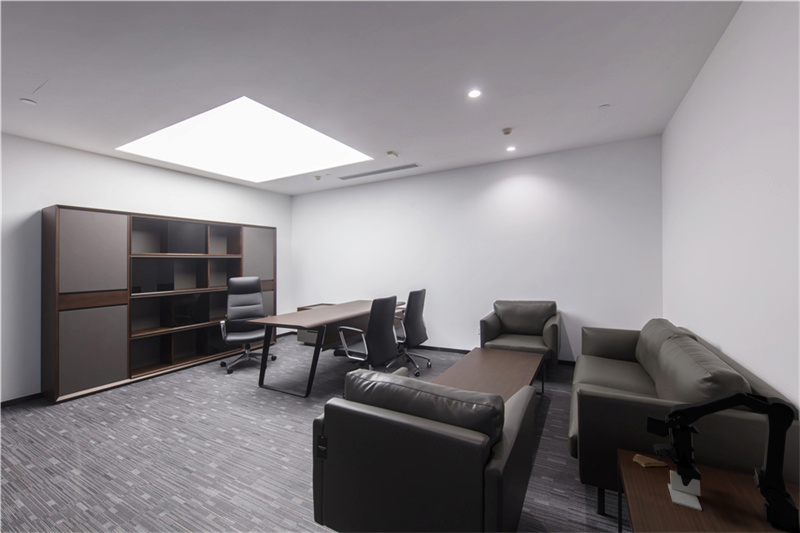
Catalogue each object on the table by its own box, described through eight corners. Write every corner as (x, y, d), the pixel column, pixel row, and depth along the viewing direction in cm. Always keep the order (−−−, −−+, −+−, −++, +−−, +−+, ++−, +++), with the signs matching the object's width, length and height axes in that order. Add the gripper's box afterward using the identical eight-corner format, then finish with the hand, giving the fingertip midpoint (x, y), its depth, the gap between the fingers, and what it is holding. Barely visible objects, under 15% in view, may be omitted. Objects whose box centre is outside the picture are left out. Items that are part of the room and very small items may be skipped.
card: (699, 493, 115) (698, 476, 115) (700, 496, 114) (699, 479, 114) (670, 486, 119) (669, 469, 119) (671, 488, 118) (670, 472, 118)
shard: (668, 467, 133) (667, 462, 133) (665, 475, 128) (664, 470, 128) (636, 456, 141) (636, 452, 141) (632, 464, 135) (632, 459, 136)
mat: (694, 491, 117) (693, 490, 117) (701, 510, 108) (701, 509, 108) (667, 485, 121) (667, 483, 121) (673, 502, 112) (673, 501, 112)
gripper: (651, 425, 129) (653, 464, 129) (658, 447, 113) (660, 491, 113) (687, 432, 123) (689, 473, 123) (700, 456, 107) (702, 503, 107)
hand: (684, 484), depth 116 cm, fingers closed on card, 2 cm apart
